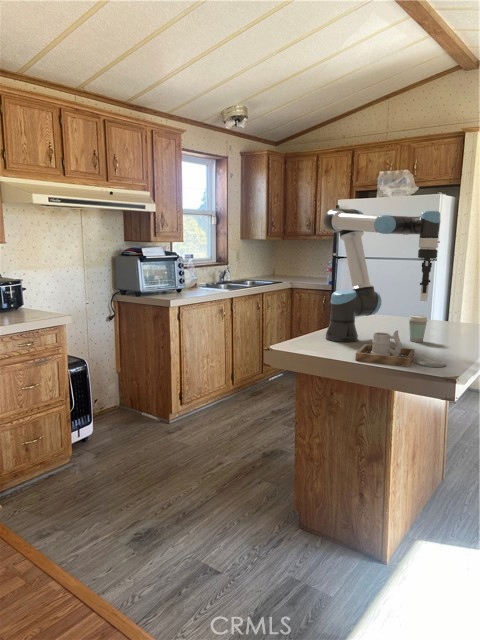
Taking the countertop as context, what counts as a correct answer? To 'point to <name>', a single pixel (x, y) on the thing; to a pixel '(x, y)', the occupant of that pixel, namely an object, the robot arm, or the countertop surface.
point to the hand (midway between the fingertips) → (423, 299)
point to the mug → (385, 344)
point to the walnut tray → (384, 359)
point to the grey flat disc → (430, 363)
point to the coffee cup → (417, 327)
